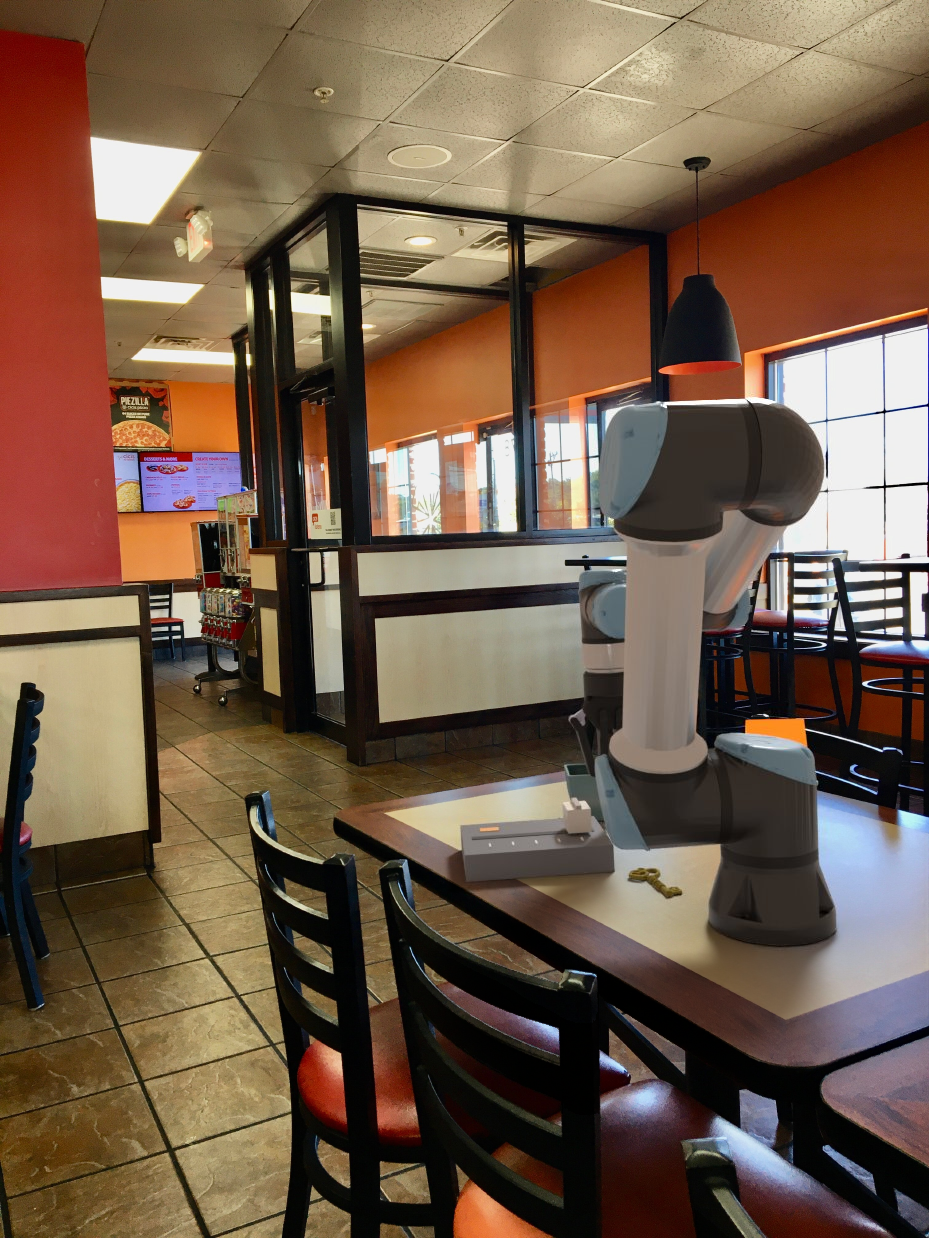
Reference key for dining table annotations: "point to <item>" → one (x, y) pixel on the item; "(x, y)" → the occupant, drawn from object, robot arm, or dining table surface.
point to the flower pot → (583, 788)
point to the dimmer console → (533, 850)
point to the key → (654, 880)
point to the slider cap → (577, 816)
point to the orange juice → (779, 729)
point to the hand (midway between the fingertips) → (614, 819)
